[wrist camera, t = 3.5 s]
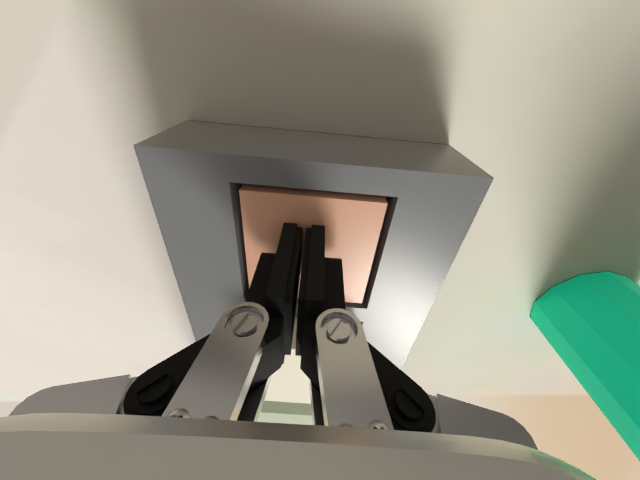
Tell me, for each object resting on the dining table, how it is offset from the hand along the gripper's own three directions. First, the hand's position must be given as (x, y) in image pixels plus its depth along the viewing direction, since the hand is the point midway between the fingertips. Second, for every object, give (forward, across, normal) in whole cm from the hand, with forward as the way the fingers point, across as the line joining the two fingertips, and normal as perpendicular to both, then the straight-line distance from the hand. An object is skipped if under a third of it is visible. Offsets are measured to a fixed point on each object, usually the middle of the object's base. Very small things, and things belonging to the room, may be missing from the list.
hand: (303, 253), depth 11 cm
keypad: (+4, 0, +7) cm, 8 cm away
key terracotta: (+3, 0, 0) cm, 3 cm away
